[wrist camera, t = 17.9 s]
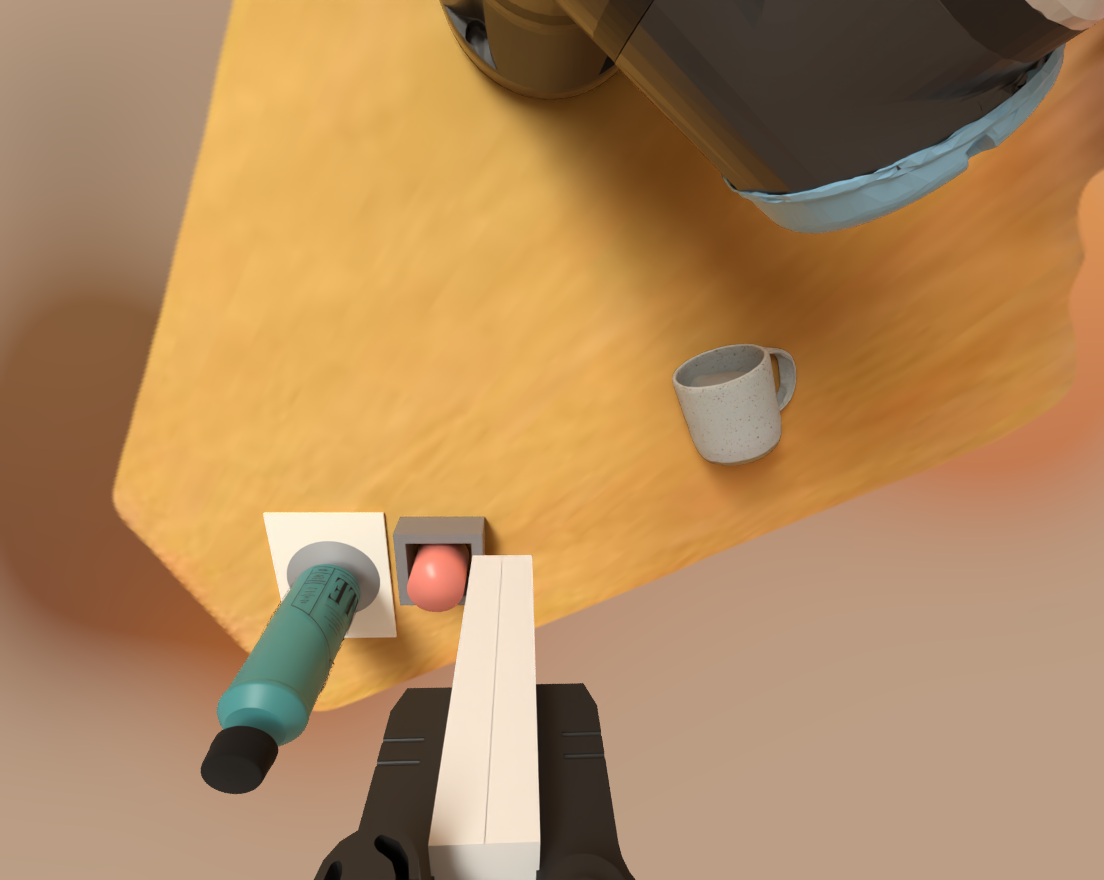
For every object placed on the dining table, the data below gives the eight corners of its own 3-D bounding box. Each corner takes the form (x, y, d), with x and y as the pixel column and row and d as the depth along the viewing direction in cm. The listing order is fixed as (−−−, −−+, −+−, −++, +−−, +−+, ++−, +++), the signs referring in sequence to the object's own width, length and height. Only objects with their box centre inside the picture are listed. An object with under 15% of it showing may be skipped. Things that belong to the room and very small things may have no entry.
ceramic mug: (688, 447, 48) (718, 485, 41) (660, 369, 45) (688, 395, 38) (797, 402, 47) (847, 433, 40) (776, 319, 44) (827, 336, 37)
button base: (400, 516, 49) (392, 534, 46) (484, 516, 49) (482, 534, 47) (406, 585, 52) (400, 605, 49) (485, 584, 53) (483, 604, 50)
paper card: (264, 512, 48) (262, 514, 48) (383, 512, 49) (383, 514, 48) (290, 636, 54) (289, 638, 53) (397, 635, 54) (396, 637, 54)
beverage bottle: (287, 581, 51) (152, 783, 32) (327, 539, 49) (209, 727, 31) (342, 616, 53) (245, 825, 34) (382, 577, 51) (303, 774, 33)
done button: (415, 534, 49) (404, 566, 44) (468, 534, 49) (462, 565, 45) (419, 577, 51) (409, 612, 46) (470, 576, 51) (464, 611, 47)
